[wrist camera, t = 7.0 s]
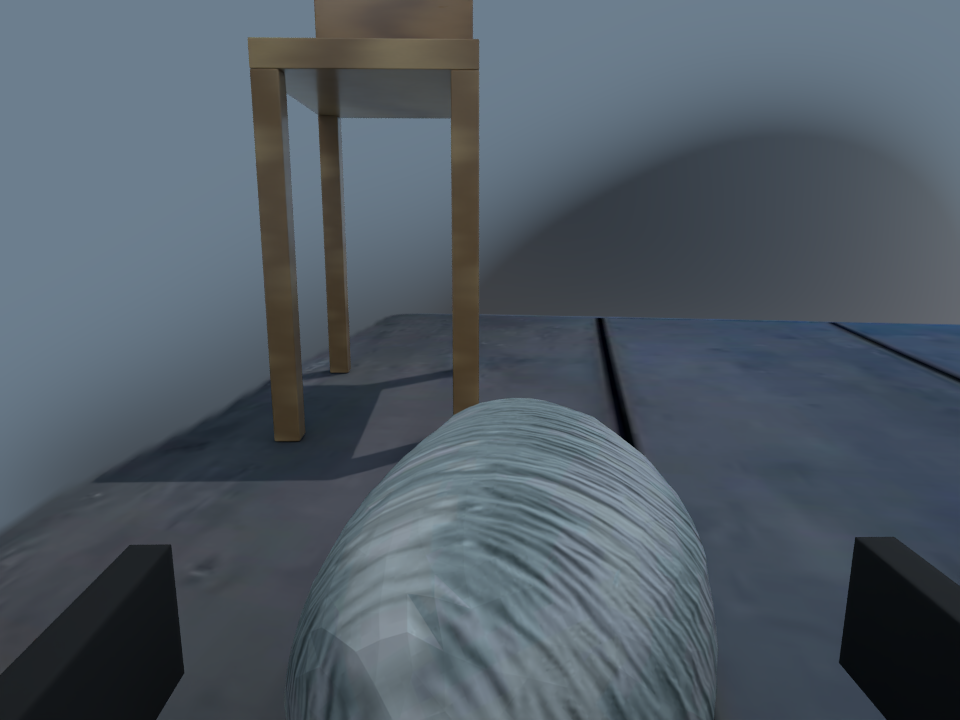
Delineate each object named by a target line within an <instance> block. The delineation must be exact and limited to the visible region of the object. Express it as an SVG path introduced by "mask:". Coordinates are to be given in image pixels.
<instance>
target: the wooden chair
mask: <svg viewBox="0 0 960 720" xmlns="http://www.w3.org/2000/svg"><path fill="white" fill-rule="evenodd" d="M314 6H315V29H316V38H264V37H261V38H260V37H258V38H257V37H256V38H255V37H248V50H249V65H250V68H251V69H250V77H251V92H252V106H253V122H254V138H255V153H256V168H257V182H258V198H259V212H260V228H261V242H262V258H263V273H264V288H265V303H266V318H267V333H268V348H269V363H270V379H271V394H272V409H273V424H274V439H275V441H300V440H301V438H302V437H303V435H304V434H305V418H304V400H303V383H302V365H301V348H300V329H299V312H298V295H297V276H296V258H295V240H294V223H293V204H292V186H291V169H290V152H289V135H288V134H289V133H288V115H287V98H286V93H287V94H289V95H290V96H291V97H293V98H294V99H296V100H297V101H299V102H300V103H301V104H303V105H305V106H306V107H307V108H309V109H310V110H312V111H313V112H315V113H316V114H318V115H319V116H318V121H319V143H320V162H321V163H320V164H321V186H322V205H323V226H324V227H323V228H324V249H325V270H326V292H327V313H328V333H329V356H330V372H331V373H348V372H349V370H350V369H351V361H350V337H349V312H348V287H347V262H346V238H345V213H344V188H343V164H342V138H341V118H451V171H452V173H451V175H452V177H451V178H452V304H453V305H452V307H453V310H452V311H453V415H455V414H457V413H459V412H461V411H462V410H464V409H466V408H469V407H471V406H474V405H477V404H479V40H478V39H473V0H314Z"/></svg>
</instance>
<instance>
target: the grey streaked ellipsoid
mask: <svg viewBox="0 0 960 720" xmlns="http://www.w3.org/2000/svg"><path fill="white" fill-rule="evenodd" d="M717 658H718V644H717V631H716V623H715V615H714V608H713V600H712V594H711V589H710V585H709V580H708V570H707V561H706V556H705V553H704V549H703V546H702V543H701V540H700V538H699V535H698V533H697V530H696V528H695V525H694V523H693V521H692V519H691V517H690V515H689V514H688V512H687V510H686V508H685V507H684V505H683V503H682V502H681V500H680V498H679V497H678V495H677V493H676V492H675V491H674V490H673V489H672V487H671V486H670V485H669V484H668V483H667V482H666V481H665V479H664V478H663V477H662V476H661V475H660V473H659V472H658V471H657V470H656V468H655V467H654V466H653V465H652V464H651V463H650V461H649V460H648V459H647V458H646V457H645V456H644V455H642V454H641V453H640V452H639V451H637V450H636V449H635V448H634V447H632V446H631V445H630V444H629V443H627V442H626V441H625V440H623V439H622V438H621V437H620V436H618V435H617V434H616V433H614V432H613V431H612V430H610V429H609V428H607V427H606V426H605V425H603V424H602V423H601V422H599V421H598V420H597V419H595V418H594V417H592V416H589V415H586V414H584V413H581V412H578V411H575V410H572V409H570V408H567V407H564V406H561V405H557V404H554V403H550V402H547V401H542V400H537V399H531V398H508V399H500V400H494V401H489V402H483V403H479V404H477V405H474V406H471V407H469V408H466V409H464V410H462V411H461V412H459V413H457V414H455V415H453V416H452V417H451V418H450V419H449V420H448V421H447V422H446V423H445V424H444V425H443V426H441V427H440V428H439V429H438V430H436V431H435V432H433V433H432V434H430V435H429V436H428V437H426V438H425V439H424V440H423V441H421V442H420V443H419V444H418V445H417V446H416V447H415V448H414V449H413V450H412V451H410V452H409V453H408V454H407V455H405V456H404V457H403V458H402V459H401V460H400V461H399V462H398V463H397V464H396V465H395V466H394V467H393V468H392V470H391V471H390V472H389V473H388V474H387V475H386V476H385V477H384V479H383V480H382V481H381V482H380V483H379V484H378V485H377V486H376V487H375V488H374V489H373V490H372V491H371V492H370V493H369V494H368V496H367V497H366V498H365V500H364V501H363V503H362V504H361V505H360V507H359V508H358V509H357V511H356V512H355V513H354V515H353V516H352V517H351V519H350V520H349V521H348V522H347V524H346V526H345V527H344V529H343V531H342V532H341V534H340V536H339V538H338V539H337V541H336V543H335V544H334V546H333V548H332V550H331V552H330V553H329V555H328V557H327V559H326V560H325V562H324V564H323V566H322V568H321V569H320V571H319V573H318V575H317V577H316V578H315V580H314V582H313V584H312V587H311V589H310V592H309V595H308V597H307V600H306V603H305V605H304V608H303V611H302V613H301V617H300V620H299V624H298V627H297V630H296V634H295V637H294V640H293V644H292V647H291V651H290V658H289V664H288V670H287V676H286V683H285V692H284V703H285V711H286V720H714V712H715V700H716V694H717V680H716V670H717Z"/></svg>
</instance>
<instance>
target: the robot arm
mask: <svg viewBox="0 0 960 720" xmlns="http://www.w3.org/2000/svg"><path fill="white" fill-rule="evenodd" d="M839 663H840V664H841V666H842V667H843V668H844V669H845V670H846V672H847V673H848V674H849V675H850V676H851V678H852V679H853V680H854V681H855V682H856V684H857V685H858V686H859V687H860V688H861V690H862V691H863V692H864V693H865V694H866V695H867V697H868V698H869V699H870V700H871V701H872V703H873V704H874V705H875V706H876V707H877V709H878V710H879V711H880V712H881V713H882V715H883V716H884V717H885V718H886V719H887V720H960V586H959V585H958V584H956V583H955V582H954V581H952V580H951V579H950V578H948V577H947V576H946V575H944V574H943V573H942V572H940V571H939V570H938V569H936V568H935V567H934V566H932V565H931V564H930V563H928V562H927V561H926V560H924V559H923V558H922V557H920V556H919V555H918V554H916V553H915V552H914V551H912V550H911V549H910V548H908V547H907V546H906V545H904V544H903V543H902V542H900V541H899V540H898V539H896V538H895V537H855V544H854V552H853V559H852V567H851V575H850V582H849V590H848V598H847V606H846V613H845V621H844V629H843V636H842V644H841V652H840V659H839ZM183 674H184V665H183V655H182V646H181V636H180V626H179V617H178V607H177V597H176V588H175V578H174V569H173V559H172V549H171V545H129V546H128V547H127V548H126V549H125V550H124V551H123V552H122V554H121V555H120V556H119V557H118V558H117V559H116V560H115V561H114V562H113V563H112V564H111V565H110V566H109V567H108V568H107V569H106V570H105V571H104V572H103V573H102V574H101V575H100V576H99V577H98V578H97V579H96V580H95V581H94V582H93V583H92V584H91V585H90V586H89V587H88V588H87V589H86V590H85V591H84V592H83V593H82V594H81V595H80V596H79V597H78V598H77V599H76V600H75V601H74V602H73V603H72V604H71V605H70V606H69V607H68V608H67V609H66V610H65V611H64V612H63V613H62V614H61V615H60V616H59V617H58V618H57V619H56V620H55V621H54V622H53V623H52V624H51V625H50V626H49V627H48V628H47V629H46V630H45V631H44V632H43V633H42V634H41V635H40V636H39V637H38V638H37V639H36V640H35V641H34V642H33V643H32V644H31V645H30V646H29V647H28V648H27V649H26V650H25V651H24V652H23V653H22V654H21V655H20V656H19V657H18V658H17V659H16V660H15V661H14V662H13V663H12V664H11V665H10V666H9V667H8V668H7V669H6V670H5V671H4V672H3V673H2V674H1V675H0V720H156V719H157V717H158V716H159V714H160V712H161V711H162V709H163V707H164V706H165V704H166V702H167V701H168V699H169V697H170V696H171V694H172V692H173V691H174V689H175V687H176V686H177V684H178V682H179V681H180V679H181V677H182V676H183Z"/></svg>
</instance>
